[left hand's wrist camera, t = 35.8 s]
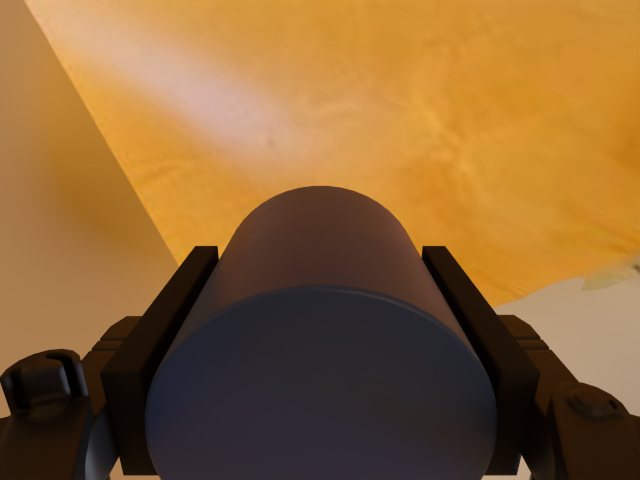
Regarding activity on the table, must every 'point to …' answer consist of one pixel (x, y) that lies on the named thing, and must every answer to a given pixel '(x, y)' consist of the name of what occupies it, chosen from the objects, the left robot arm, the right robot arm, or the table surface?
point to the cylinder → (321, 357)
